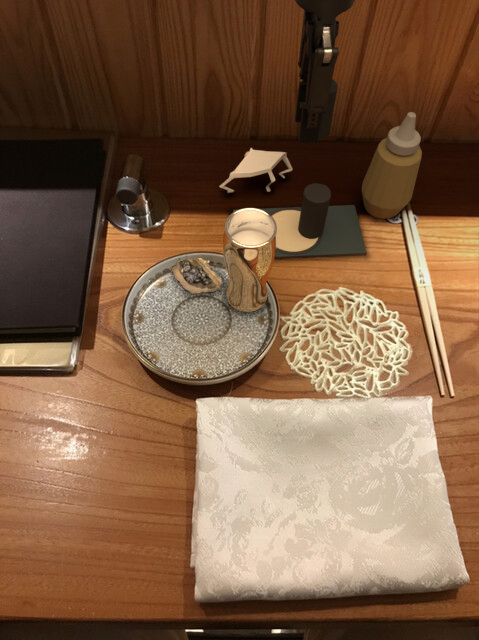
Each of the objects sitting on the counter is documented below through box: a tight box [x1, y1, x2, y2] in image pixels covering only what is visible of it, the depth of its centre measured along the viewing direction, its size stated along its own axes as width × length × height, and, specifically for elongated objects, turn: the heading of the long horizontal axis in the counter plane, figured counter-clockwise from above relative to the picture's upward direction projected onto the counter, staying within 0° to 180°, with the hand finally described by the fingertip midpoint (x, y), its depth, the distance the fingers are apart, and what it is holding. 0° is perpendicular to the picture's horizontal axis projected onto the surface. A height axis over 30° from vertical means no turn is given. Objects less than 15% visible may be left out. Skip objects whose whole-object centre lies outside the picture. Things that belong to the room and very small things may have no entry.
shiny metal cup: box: [222, 207, 277, 313], centre depth 76 cm, size 7×7×15 cm
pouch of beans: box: [170, 257, 223, 295], centre depth 84 cm, size 7×8×2 cm
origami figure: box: [219, 147, 293, 194], centre depth 93 cm, size 12×8×5 cm
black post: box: [317, 78, 339, 141], centre depth 82 cm, size 4×4×8 cm
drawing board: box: [232, 204, 367, 260], centre depth 89 cm, size 20×10×1 cm, turn 94°
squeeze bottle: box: [360, 111, 423, 220], centre depth 85 cm, size 8×8×18 cm
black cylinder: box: [298, 182, 332, 239], centre depth 85 cm, size 4×4×8 cm
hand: (305, 130), depth 85 cm, fingers closed on black post, 4 cm apart
